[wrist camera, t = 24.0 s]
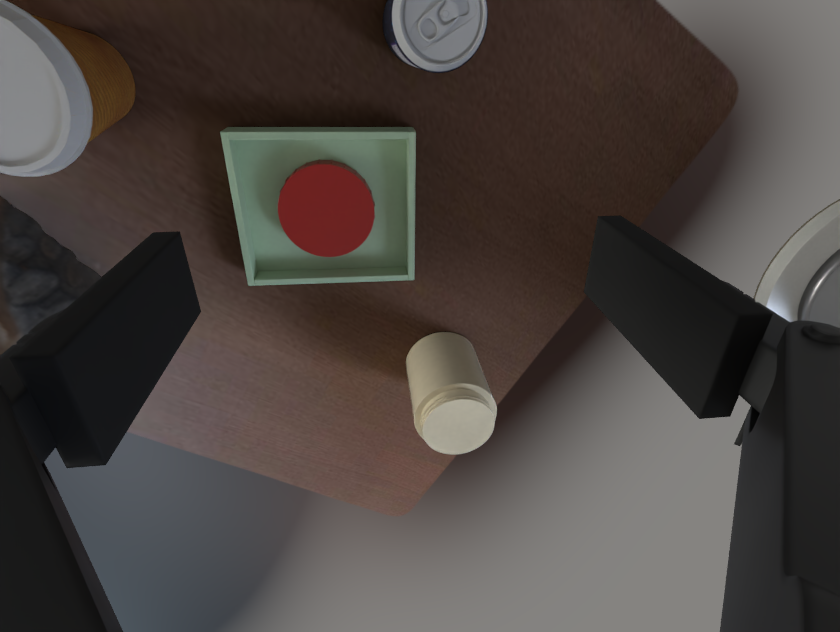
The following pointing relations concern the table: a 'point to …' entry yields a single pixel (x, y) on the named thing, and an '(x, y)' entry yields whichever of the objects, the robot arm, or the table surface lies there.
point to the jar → (449, 393)
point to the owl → (34, 275)
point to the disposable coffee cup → (55, 92)
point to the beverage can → (435, 31)
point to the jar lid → (326, 208)
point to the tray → (294, 146)
